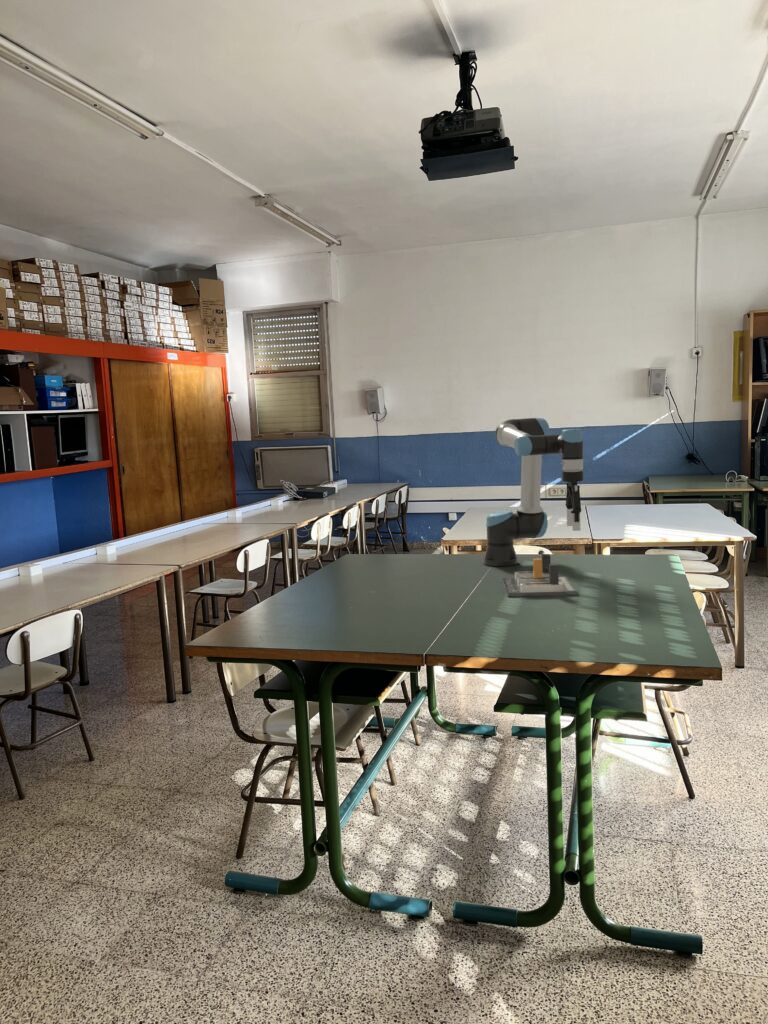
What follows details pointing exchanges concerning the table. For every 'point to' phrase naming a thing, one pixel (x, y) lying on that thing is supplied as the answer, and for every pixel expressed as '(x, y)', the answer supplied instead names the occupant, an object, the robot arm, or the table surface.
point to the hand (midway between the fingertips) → (573, 528)
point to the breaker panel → (539, 582)
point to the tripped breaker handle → (537, 568)
